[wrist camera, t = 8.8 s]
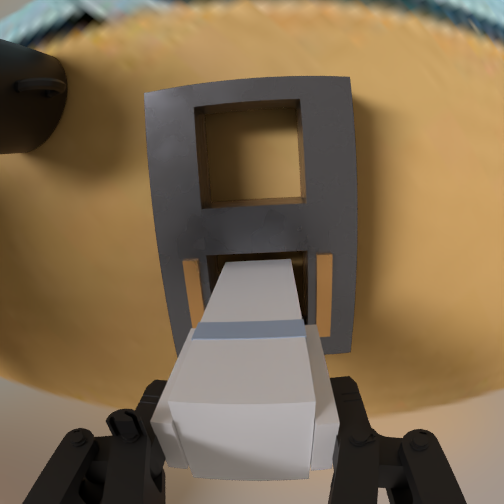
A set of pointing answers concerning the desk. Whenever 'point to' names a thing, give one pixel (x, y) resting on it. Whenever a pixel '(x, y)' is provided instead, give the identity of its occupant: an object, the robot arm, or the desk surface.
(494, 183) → the desk surface
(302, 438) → the plug
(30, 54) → the mug
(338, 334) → the jack panel
